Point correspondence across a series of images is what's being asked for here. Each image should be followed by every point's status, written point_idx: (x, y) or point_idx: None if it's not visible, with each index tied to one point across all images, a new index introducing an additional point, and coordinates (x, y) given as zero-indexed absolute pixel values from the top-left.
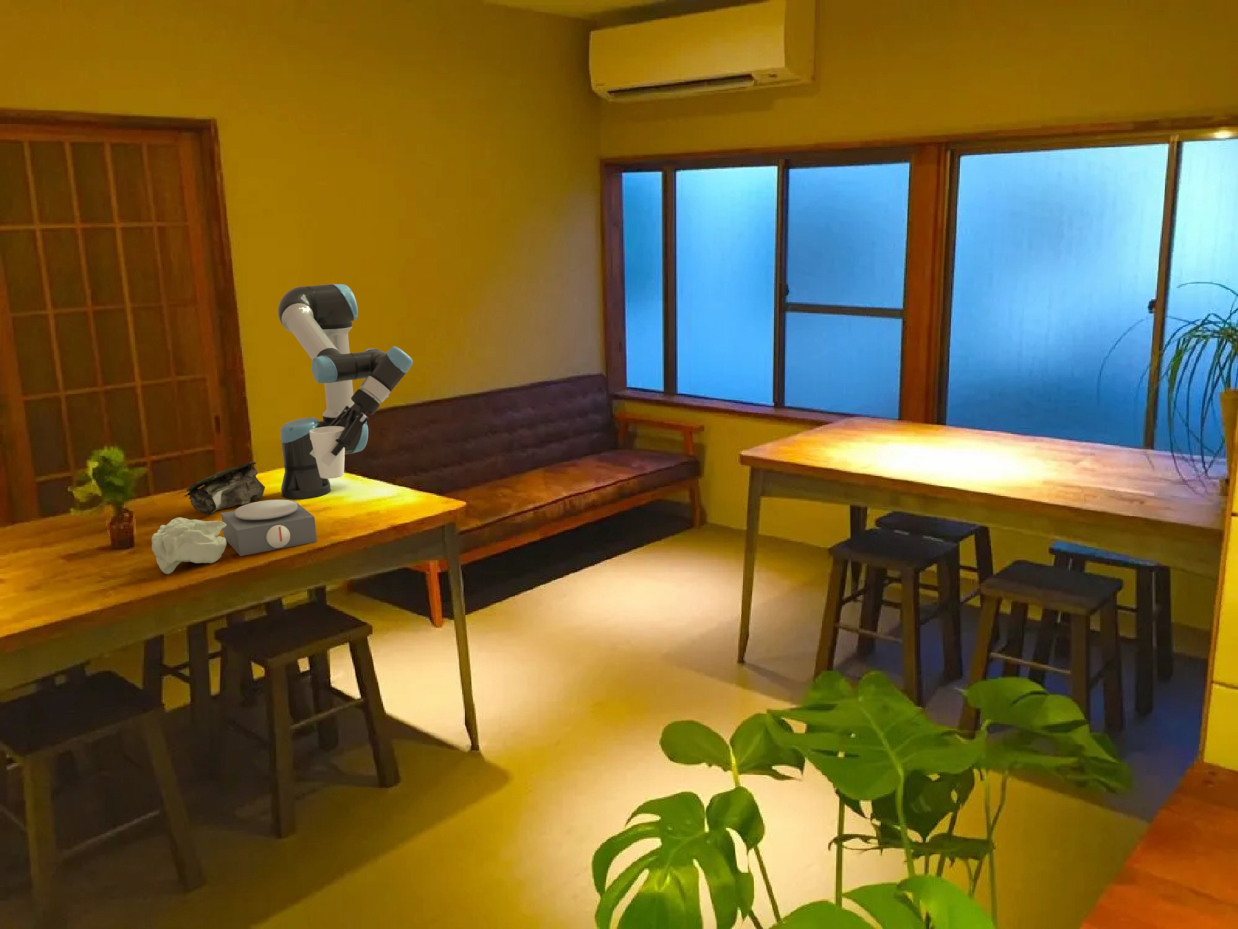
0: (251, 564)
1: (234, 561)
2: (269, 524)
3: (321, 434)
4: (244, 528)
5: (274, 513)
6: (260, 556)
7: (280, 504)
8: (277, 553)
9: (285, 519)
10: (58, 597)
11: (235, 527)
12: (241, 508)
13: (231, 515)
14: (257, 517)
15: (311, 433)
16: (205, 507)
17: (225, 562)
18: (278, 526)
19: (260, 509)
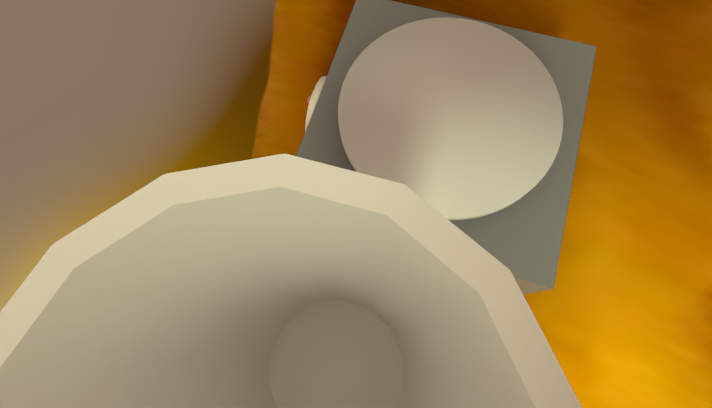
0: (280, 35)
1: (336, 23)
2: (329, 73)
3: (118, 217)
4: (357, 12)
5: (350, 88)
6: (316, 74)
7: (447, 162)
8: (299, 109)
9: (335, 129)
10: None
11: (391, 2)
12: (514, 55)
13: (537, 52)
14: (372, 45)
15: (305, 163)
16: None
17: (348, 8)
18: (312, 95)
19: (444, 86)
